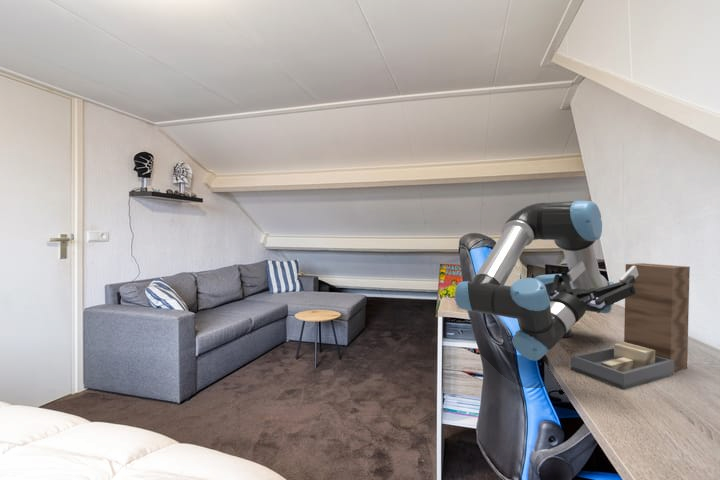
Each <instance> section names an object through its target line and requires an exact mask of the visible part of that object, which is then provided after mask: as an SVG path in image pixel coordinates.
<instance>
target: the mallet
mask: <svg viewBox="0 0 720 480" xmlns="http://www.w3.org/2000/svg"><path fill="white" fill-rule="evenodd" d="M613 347H614V360H610V361H606V362H602V363H601V365H603V366H606V367H609V368H612V369H615V370H618V371H621V372H623V371H627V370H631V369H636V368H639V367H643V366H647V365H651V364H655V350H652V349H649V348H645V347H641V346H637V345H633V344H630V343H626V342H624V341H623V342H618V343H615V344H613Z"/></svg>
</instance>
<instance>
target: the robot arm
mask: <svg viewBox="0 0 720 480" xmlns="http://www.w3.org/2000/svg"><path fill="white" fill-rule="evenodd" d="M602 231H603V222H602V215H601V210H600V208H599V206H598V205H597V204H596V203H595V202H594V201H592V200H579V199H578V200H577V199H576V200H573V201H571V200H569V201H553V202H536V203H533V204H530V205H527V206H525V207H523V208H521V209H520V210H518V211H516V212H515V213H514V214H513V215H512V216H510V217H509V218H508V219H507V220H506V221H505V223H504V224H503V225H502V228H501V235H500V237H499V238H498V240H497V241H496V243H495V244H494V246H493V247H492V250H491V251H490V253H488V255H487V257H486V258H485V260H484V262H483V264H482V265H481V266H480V268H479V270H478V271H477V273H476V275H475V276H474V277H473V279H472V281H469V280H467V281H466V280H465V281H461V282H460V281H459V283H458V284H457V285H456V288H455V290H454V301H455V305H456V306H457V307H458V308H459V309H460V310H464V311H469V312H472V313H480V314H485V315H487V314H488V315H492V316H493V315H494V316H498V317H505V318H511V319H516V320H517V324H518V327H519V329H518V330H517V331H516V332H515V334H514V335H513V337H512V339H511V342H512V345H513V347H514V348H515V349H516V351H517V352H518V353H519V354H520V355H521V356H523V357H524V358H526V359H527V360H530V361H535V362H536V361H539V360H541V359H542V358H543V357H544V356H545V355H546V354H548V353H550V351H551V350H552V349H553V348H554V347H555V346H556V344H557V343H559V341H560V340H562V339H563V338H569V337H571V336H572V332H573V331H572V327H573V326H574V325H575V324H576V323H578V322H579V320H581V318H583V317H584V315H585V314H586V312H591V313H597V314H609V313H611V311H612V307H613V306H612V305H613V304H615V303H618V302H620V301H623V300H625V298H627V297H629V296H631V295H634V294H636V291H635V288H634V285H633V284H634V282H635V278H636V277H637V276H638V275H639V274H638V271H637V268H636V266H632V267H631V268H630V269H629V270H628V271H627V272H626V271H625V272H624V274H623V275H622V276H621V277H620V278H619V279H618V280H619V282H615V283H614V282H613V281H609V280H607V278H606V277H605V276H604V275H602V274H601V272H600V268H599V264H598V263H599V262H598V259H597V253H596V251H595V249H596V248H595V246H594V243H596V241H598V240H599V239H600V238H601V236H602V234H603V233H602ZM536 240H542V241H543V240H544V241H546V240H549V241H550V240H551V241H554V244H555V245H556V246H557V247H558V248H559V249H561V250H562V252H563V255H564V258H565V261H566V265H567V267H568V271H567V272H566V271H561V273H552V274H551V273H550V274H541V275H537V276H535V277H534V278H533V277H526V278H525V279H523V278H519V279H517V280H515V281H514V282H513V283H512V284H511V285H505V284H506V283H507V280H508V278H509V277H510V275H511V273H512V271H513V270H514V268H515V266H516V264H517V263H518V260H519V259H520V256H521V255H522V253H523V252H524V249H525V248H526V247H527V246H530V244H532V242H533V241H536Z"/></svg>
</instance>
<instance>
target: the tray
mask: <svg viewBox="0 0 720 480" xmlns="http://www.w3.org/2000/svg"><path fill="white" fill-rule="evenodd" d="M570 357H571V358H570V370H571V371H574V372H577V373H578V374H582V375H584V376H587V377H590V378H592V379H595V380H598V381H600V382H602V383H606V384H608V385H611V386H612V387H616V388H619V389H621V390H623V391H624V390H628V389H630V388H634V387H637V386H641V385H643V384H648V383H650V382H654V381H657V380H662V379H664V378H667V377H670V376H673V375H675V374H674V373H675V372H674V361H673V360H670V359H666V358H662V357H659V356H655V364H651V365H647V366H643V367H639V368H636V369H631V370H627V371H623V372H621V371H618V370H615V369H612V368H609V367H606V366H603V365H601V363H602V362H606V361H610V360H614V346H611V347H607V348H603V349H598V350H593V351H588V352H584V353H579V354H578V353H577V354H574V355H570Z"/></svg>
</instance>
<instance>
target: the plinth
mask: <svg viewBox="0 0 720 480" xmlns="http://www.w3.org/2000/svg"><path fill="white" fill-rule="evenodd" d="M632 266H636V268H637V271H638V274H639V275H638V276H637V277H636V278H635V282H634V284H633V285H634V288H635V291H636V294H634V295H631V296H629V297H627V298H625V299H624V327H623V328H624V331H623V332H624V338H623V342H626V343H630V344H633V345H637V346H641V347H645V348H649V349H652V350H655V356H659V357H662V358H666V359H670V360H673V361H674V373H675V372H679V371H683V370H686V369H688V355H689V354H688V352H689V349H688V348H689V346H688V345H689V313H690V312H689V311H690V310H689V309H690V308H689V306H690V304H689V303H690V272H691V271H690V270H691V269H690V266H687V265H685V266H684V265H671V264H658V263H645V262H643V263H641V262H639V263H626V264H625V273H626V272H627V271H628V270H629V269H630V268H631V267H632Z"/></svg>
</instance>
